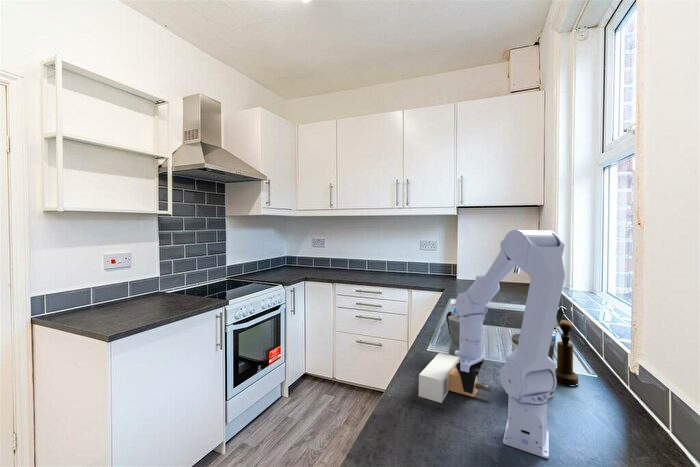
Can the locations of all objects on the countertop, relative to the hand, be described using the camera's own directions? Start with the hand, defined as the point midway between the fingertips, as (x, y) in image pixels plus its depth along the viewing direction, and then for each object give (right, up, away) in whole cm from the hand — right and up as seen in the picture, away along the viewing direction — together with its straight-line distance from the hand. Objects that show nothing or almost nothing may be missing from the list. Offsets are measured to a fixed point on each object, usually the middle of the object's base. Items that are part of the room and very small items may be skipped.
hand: (469, 388), depth 84 cm
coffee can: (+18, -2, +3) cm, 19 cm away
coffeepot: (+4, -2, +20) cm, 20 cm away
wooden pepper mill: (+31, -2, +8) cm, 32 cm away
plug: (-1, -1, +1) cm, 1 cm away
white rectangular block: (-7, -1, +4) cm, 8 cm away
